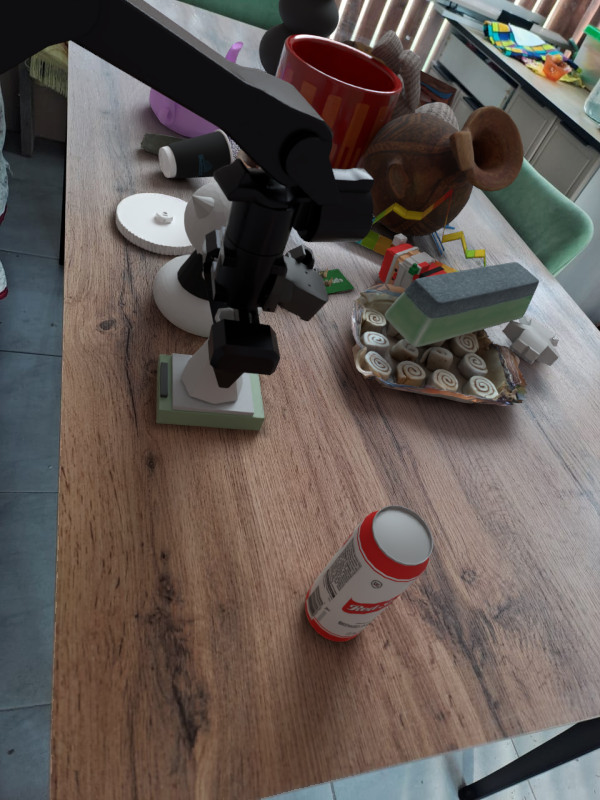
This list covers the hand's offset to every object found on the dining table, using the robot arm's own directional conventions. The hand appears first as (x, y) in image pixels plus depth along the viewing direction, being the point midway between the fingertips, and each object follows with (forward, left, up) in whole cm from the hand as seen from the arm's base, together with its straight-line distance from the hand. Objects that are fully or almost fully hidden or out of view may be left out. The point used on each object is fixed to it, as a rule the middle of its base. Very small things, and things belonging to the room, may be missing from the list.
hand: (220, 355), depth 63 cm
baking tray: (+34, +11, -7) cm, 36 cm away
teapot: (+1, +74, -8) cm, 75 cm away
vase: (+25, +106, -7) cm, 110 cm away
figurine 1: (+19, +23, -4) cm, 30 cm away
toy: (+31, +77, +13) cm, 84 cm away
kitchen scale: (0, 0, -7) cm, 7 cm away
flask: (0, 0, -5) cm, 5 cm away
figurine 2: (+37, +23, -3) cm, 43 cm away
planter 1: (+24, +66, -7) cm, 71 cm away
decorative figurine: (0, +16, -7) cm, 18 cm away
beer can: (+11, -26, -8) cm, 29 cm away
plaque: (+45, +82, +11) cm, 94 cm away
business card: (+21, +24, -7) cm, 33 cm away
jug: (+38, +56, -2) cm, 67 cm away
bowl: (+37, +86, -4) cm, 94 cm away
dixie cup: (-6, +50, -5) cm, 50 cm away
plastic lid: (-6, +34, -5) cm, 35 cm away
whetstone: (+38, +16, +6) cm, 42 cm away
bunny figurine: (+49, +12, -3) cm, 51 cm away
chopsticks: (+50, +54, -7) cm, 74 cm away
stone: (-4, +60, -8) cm, 60 cm away
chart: (+41, +36, -7) cm, 55 cm away
